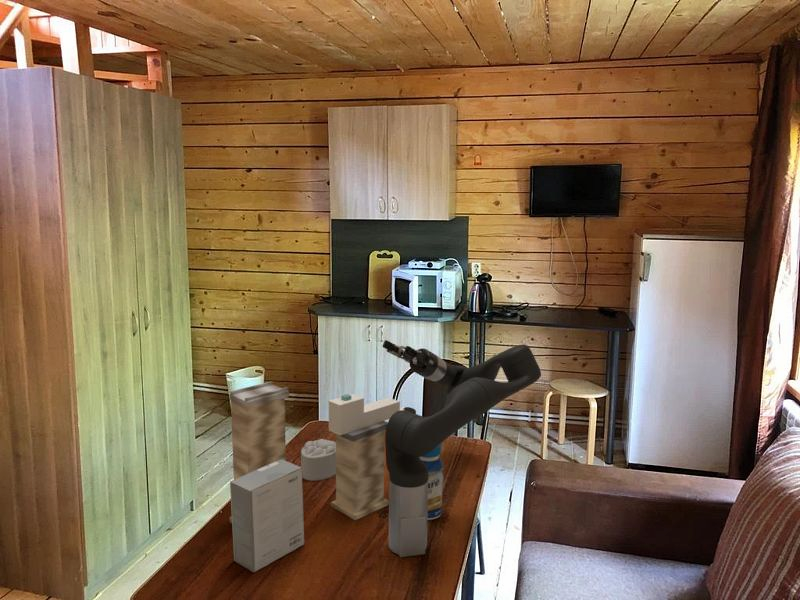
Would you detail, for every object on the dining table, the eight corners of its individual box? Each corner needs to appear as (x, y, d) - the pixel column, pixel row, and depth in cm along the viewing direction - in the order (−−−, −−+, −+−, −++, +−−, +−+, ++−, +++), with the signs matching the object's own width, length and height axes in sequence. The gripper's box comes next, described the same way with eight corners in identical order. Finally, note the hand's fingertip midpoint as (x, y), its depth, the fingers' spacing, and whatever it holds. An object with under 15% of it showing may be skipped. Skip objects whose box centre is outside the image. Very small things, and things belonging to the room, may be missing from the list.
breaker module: (388, 411, 183) (388, 380, 182) (399, 415, 180) (400, 384, 178) (328, 430, 169) (328, 397, 167) (339, 435, 166) (339, 401, 164)
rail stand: (272, 504, 177) (269, 380, 171) (292, 516, 171) (290, 388, 165) (229, 521, 168) (224, 391, 162) (248, 535, 162) (244, 400, 156)
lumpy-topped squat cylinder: (345, 466, 201) (345, 439, 200) (322, 483, 190) (322, 455, 188) (316, 459, 206) (316, 433, 204) (292, 476, 194) (292, 448, 193)
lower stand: (365, 491, 185) (365, 413, 181) (390, 504, 178) (391, 423, 174) (329, 507, 176) (328, 425, 172) (353, 521, 169) (353, 436, 165)
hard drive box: (284, 533, 163) (282, 458, 159) (305, 544, 158) (304, 467, 155) (232, 561, 151) (229, 480, 147) (253, 574, 146) (250, 490, 143)
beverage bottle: (445, 507, 177) (447, 437, 173) (438, 523, 169) (440, 450, 165) (415, 503, 179) (416, 433, 175) (406, 518, 171) (408, 445, 167)
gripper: (441, 382, 189) (408, 364, 178) (406, 371, 199) (372, 353, 188) (451, 358, 191) (418, 338, 179) (415, 348, 200) (382, 329, 189)
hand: (394, 346), depth 184 cm, fingers open, 8 cm apart
